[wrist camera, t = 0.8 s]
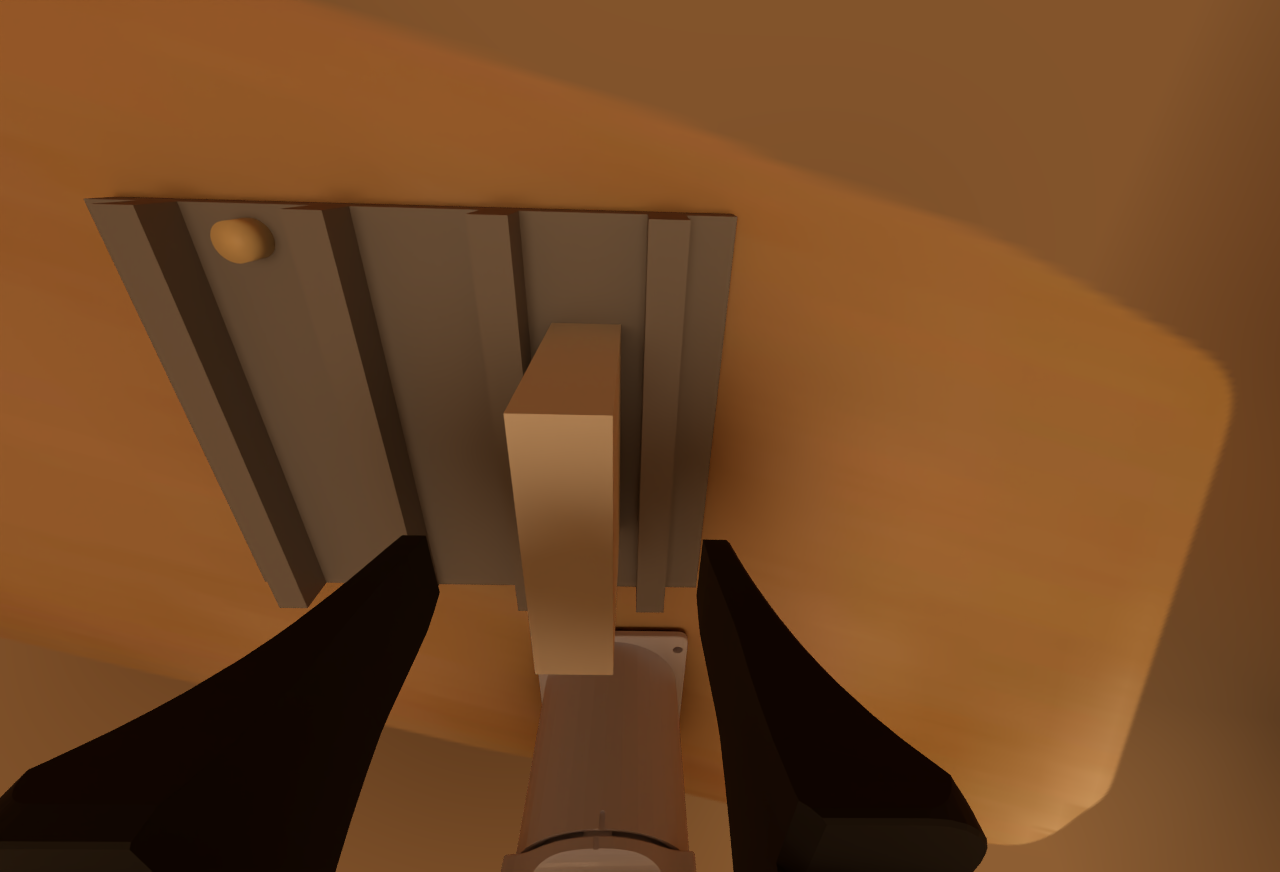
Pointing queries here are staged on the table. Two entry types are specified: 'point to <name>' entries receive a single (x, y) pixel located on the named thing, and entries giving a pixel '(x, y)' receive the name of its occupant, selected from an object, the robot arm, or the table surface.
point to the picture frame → (569, 495)
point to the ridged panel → (423, 370)
